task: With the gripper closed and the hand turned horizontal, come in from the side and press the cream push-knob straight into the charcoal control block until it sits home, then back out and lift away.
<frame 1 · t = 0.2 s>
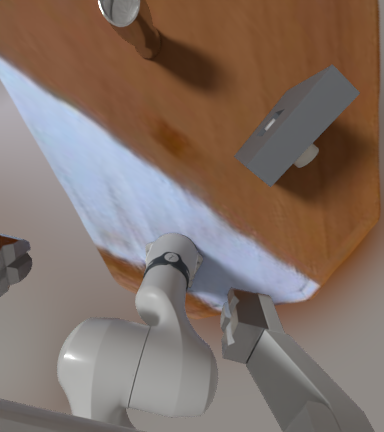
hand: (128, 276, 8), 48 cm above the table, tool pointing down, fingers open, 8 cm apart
control block: (267, 133, 48), on the table
knob: (288, 141, 40), point 9 cm above the table, slide at 0.0 cm
beer glass: (148, 42, 44), on the table
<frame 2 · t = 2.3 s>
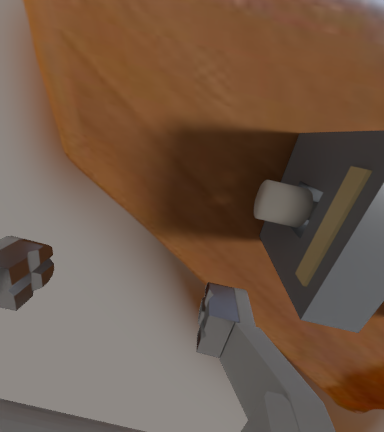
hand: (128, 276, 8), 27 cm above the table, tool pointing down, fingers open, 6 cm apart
control block: (294, 193, 33), on the table
knob: (303, 209, 25), point 9 cm above the table, slide at 0.0 cm
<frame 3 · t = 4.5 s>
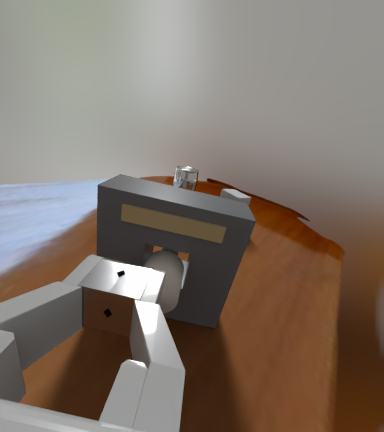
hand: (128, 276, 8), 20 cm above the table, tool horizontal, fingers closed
control block: (160, 299, 32), on the table
knob: (165, 264, 26), point 9 cm above the table, slide at 0.0 cm
small box: (227, 223, 66), on the table
beer glass: (178, 215, 63), on the table
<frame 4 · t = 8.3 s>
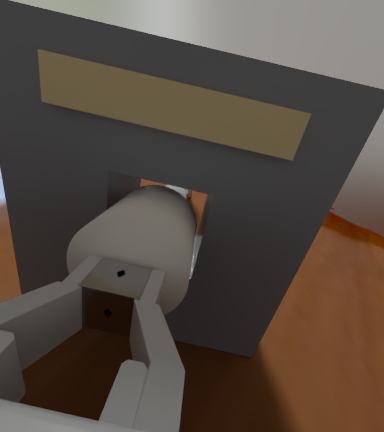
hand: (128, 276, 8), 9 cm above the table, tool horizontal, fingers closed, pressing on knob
control block: (148, 301, 18), on the table
knob: (159, 220, 13), point 9 cm above the table, slide at 1.0 cm, touching gripper
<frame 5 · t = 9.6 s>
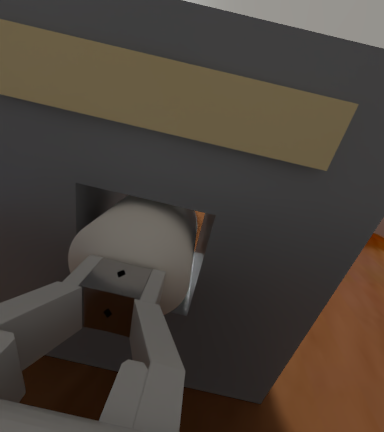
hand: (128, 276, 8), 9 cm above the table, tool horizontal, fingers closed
control block: (138, 329, 15), on the table
knob: (160, 220, 13), point 9 cm above the table, slide at 3.8 cm
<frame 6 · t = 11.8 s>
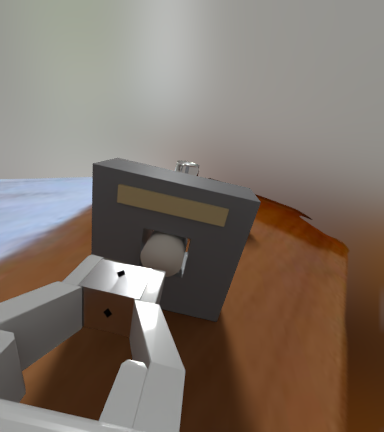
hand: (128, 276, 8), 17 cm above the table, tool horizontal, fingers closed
control block: (159, 291, 30), on the table
knob: (170, 237, 28), point 9 cm above the table, slide at 3.8 cm
beer glass: (178, 211, 62), on the table
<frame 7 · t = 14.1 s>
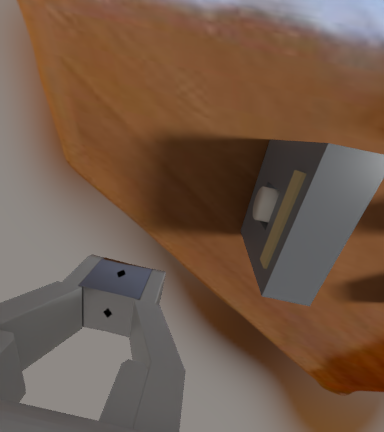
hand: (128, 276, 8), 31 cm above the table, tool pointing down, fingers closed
control block: (269, 192, 37), on the table
knob: (295, 210, 29), point 9 cm above the table, slide at 3.8 cm
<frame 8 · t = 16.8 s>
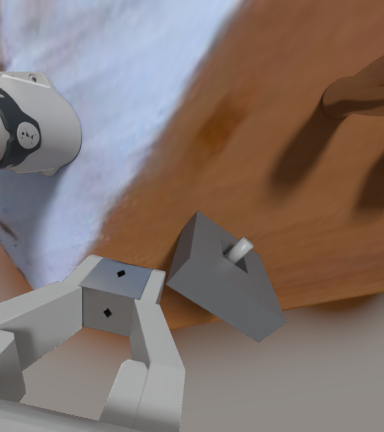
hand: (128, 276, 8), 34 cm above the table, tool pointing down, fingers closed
control block: (220, 242, 46), on the table
knob: (227, 261, 37), point 9 cm above the table, slide at 3.8 cm
beer glass: (340, 98, 33), on the table
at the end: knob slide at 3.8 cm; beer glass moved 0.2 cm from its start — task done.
